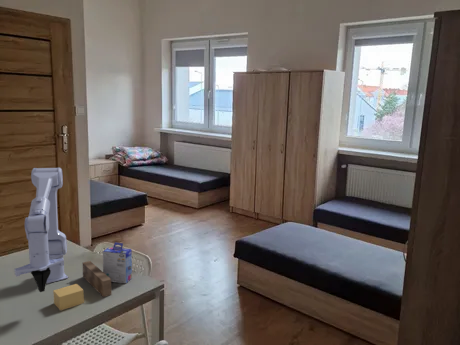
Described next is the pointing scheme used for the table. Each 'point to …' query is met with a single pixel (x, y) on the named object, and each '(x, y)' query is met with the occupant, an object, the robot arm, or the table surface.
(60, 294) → the ochre block
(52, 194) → the robot arm
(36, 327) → the table surface
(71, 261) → the table surface
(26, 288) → the table surface
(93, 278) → the walnut block
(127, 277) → the ink cartridge box
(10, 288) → the table surface
